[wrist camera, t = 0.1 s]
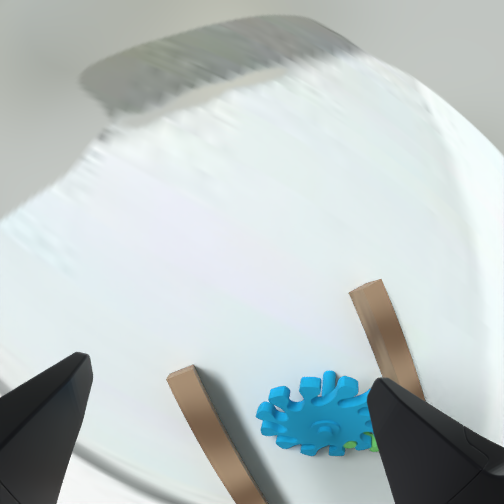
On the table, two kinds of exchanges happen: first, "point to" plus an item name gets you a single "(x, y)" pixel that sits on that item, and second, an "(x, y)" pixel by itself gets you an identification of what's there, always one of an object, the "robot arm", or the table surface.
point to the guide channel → (215, 435)
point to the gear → (319, 416)
